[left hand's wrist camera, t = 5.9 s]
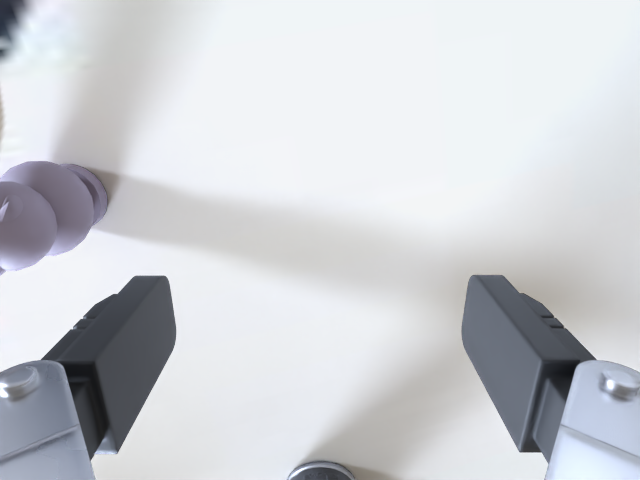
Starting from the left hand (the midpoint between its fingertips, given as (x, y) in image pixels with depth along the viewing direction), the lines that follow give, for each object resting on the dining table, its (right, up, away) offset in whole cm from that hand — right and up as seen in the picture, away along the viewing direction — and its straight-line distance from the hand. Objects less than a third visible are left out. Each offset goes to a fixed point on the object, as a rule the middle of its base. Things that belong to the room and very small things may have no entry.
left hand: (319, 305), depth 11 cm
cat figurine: (-24, +6, +29) cm, 38 cm away
